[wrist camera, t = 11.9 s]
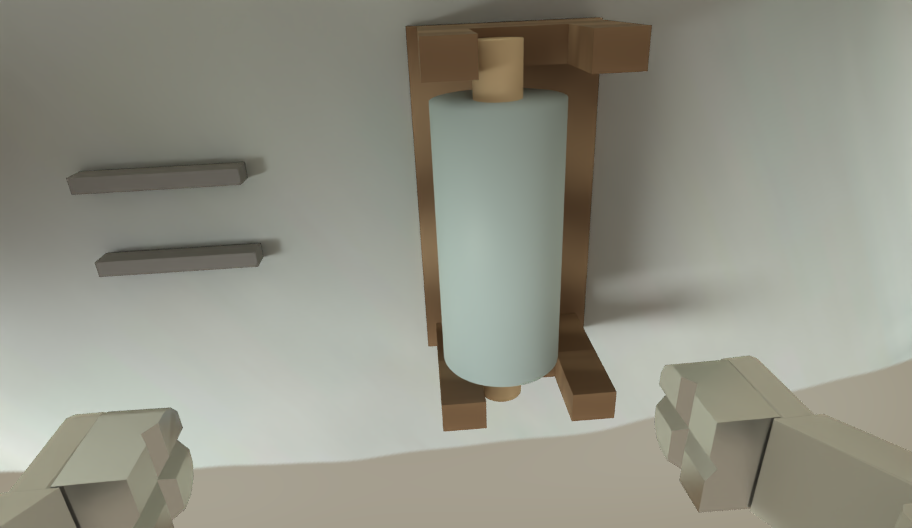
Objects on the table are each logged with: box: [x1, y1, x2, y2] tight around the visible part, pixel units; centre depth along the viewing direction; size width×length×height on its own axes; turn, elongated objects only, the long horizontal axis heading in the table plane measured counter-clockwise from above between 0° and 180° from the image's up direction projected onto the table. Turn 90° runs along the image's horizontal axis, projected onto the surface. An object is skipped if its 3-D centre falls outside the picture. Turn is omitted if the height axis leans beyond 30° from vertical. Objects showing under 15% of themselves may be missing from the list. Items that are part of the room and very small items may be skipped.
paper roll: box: [429, 37, 568, 402], centre depth 25 cm, size 16×6×6 cm
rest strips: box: [66, 162, 263, 277], centre depth 29 cm, size 8×5×1 cm, turn 92°
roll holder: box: [406, 17, 652, 431], centre depth 27 cm, size 17×9×8 cm, turn 2°
